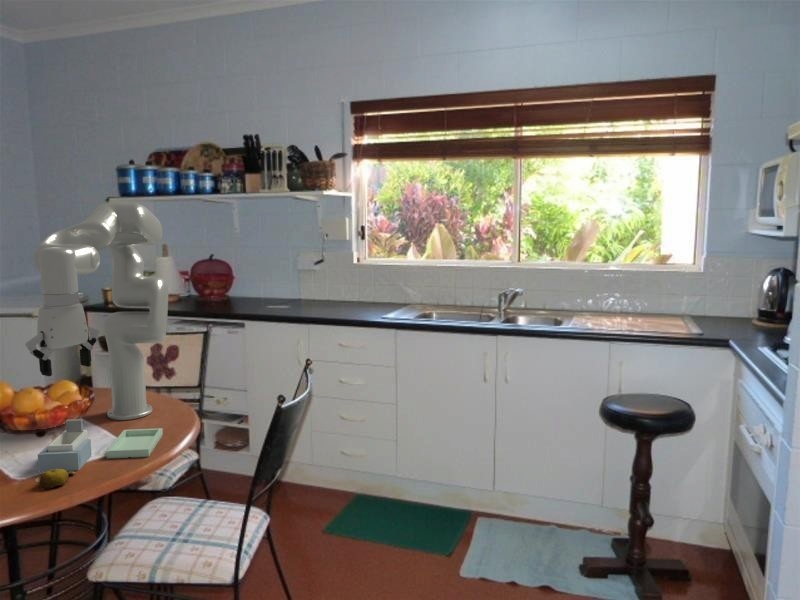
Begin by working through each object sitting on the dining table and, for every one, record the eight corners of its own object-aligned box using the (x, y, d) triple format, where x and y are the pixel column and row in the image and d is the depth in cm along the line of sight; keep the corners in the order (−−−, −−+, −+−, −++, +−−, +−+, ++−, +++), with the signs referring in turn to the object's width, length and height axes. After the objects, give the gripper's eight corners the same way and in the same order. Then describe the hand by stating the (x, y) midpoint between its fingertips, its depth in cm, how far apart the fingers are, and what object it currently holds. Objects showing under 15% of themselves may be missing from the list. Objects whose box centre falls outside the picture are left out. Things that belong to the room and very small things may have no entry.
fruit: (75, 472, 147) (74, 458, 146) (74, 486, 139) (73, 471, 139) (35, 479, 143) (34, 464, 142) (32, 494, 136) (31, 479, 135)
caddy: (66, 452, 158) (63, 419, 156) (89, 451, 158) (86, 418, 157) (49, 469, 148) (46, 434, 146) (74, 468, 149) (71, 433, 147)
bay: (54, 457, 154) (52, 440, 154) (91, 455, 156) (90, 439, 155) (39, 472, 146) (37, 454, 145) (79, 470, 147) (77, 452, 146)
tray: (124, 436, 168) (124, 429, 168) (162, 435, 170) (162, 428, 169) (106, 458, 154) (106, 451, 154) (148, 456, 155) (148, 449, 155)
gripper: (85, 294, 152) (90, 360, 155) (13, 303, 137) (20, 376, 140) (104, 296, 148) (109, 364, 151) (32, 306, 134) (39, 381, 136)
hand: (66, 370), depth 146 cm, fingers open, 9 cm apart
